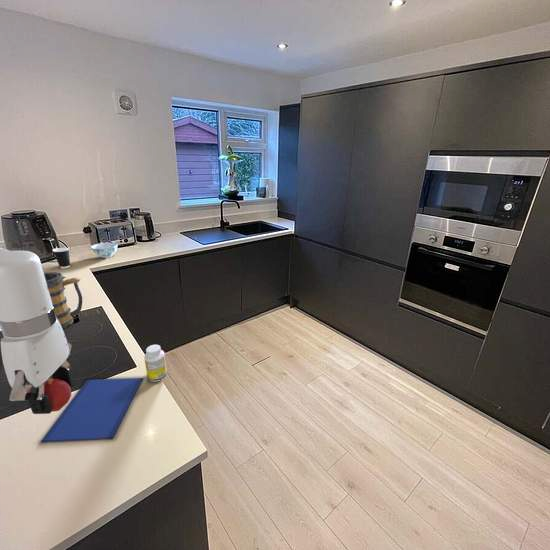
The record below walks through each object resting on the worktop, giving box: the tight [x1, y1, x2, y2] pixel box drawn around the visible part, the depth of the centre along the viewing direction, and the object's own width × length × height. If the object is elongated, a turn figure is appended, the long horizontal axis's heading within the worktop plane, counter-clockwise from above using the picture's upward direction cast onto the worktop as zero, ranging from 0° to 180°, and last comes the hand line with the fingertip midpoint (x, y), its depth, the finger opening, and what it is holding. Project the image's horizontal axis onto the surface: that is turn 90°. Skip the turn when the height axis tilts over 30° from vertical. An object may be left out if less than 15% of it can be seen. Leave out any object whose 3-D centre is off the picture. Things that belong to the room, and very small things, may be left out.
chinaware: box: [91, 242, 118, 259], centre depth 190 cm, size 15×15×8 cm
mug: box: [44, 271, 83, 330], centre depth 111 cm, size 13×17×20 cm
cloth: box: [41, 377, 144, 443], centre depth 77 cm, size 16×20×1 cm
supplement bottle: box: [143, 344, 168, 382], centre depth 86 cm, size 6×6×10 cm
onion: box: [44, 377, 72, 413], centre depth 57 cm, size 6×6×8 cm
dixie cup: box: [52, 247, 71, 269], centre depth 170 cm, size 8×8×11 cm
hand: (54, 398), depth 57 cm, fingers closed on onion, 5 cm apart
